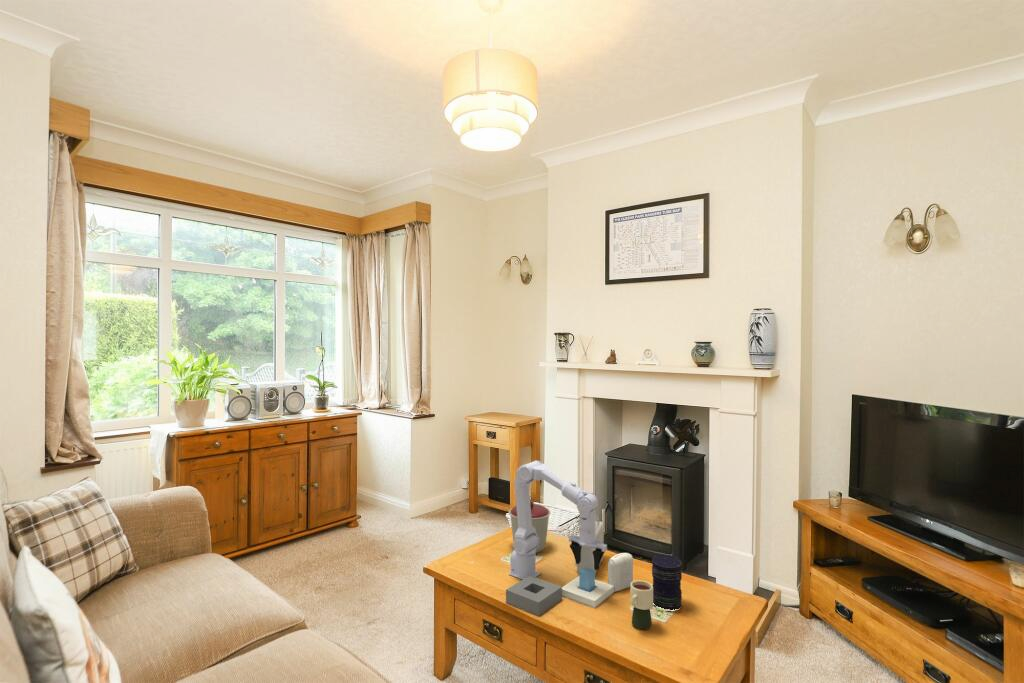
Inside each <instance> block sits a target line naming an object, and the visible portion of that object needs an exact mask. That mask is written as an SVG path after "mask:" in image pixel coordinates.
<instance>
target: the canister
mask: <svg viewBox="0 0 1024 683" xmlns="http://www.w3.org/2000/svg"><path fill="white" fill-rule="evenodd" d="M530 506H531V518H532V526H533V527H534V528H535V529H536V533H537V536H538V538H539V544H538V546H537V547H536V554H537V553H540V552H542V551H543V550H544V548H545V546H546V544H547V542H546V541H547V536H548V528H549V518H550V514H551V510H550V509H549V508H548V507H546V506H544V505H541V504H536V503H535V502H534V501H532V500H530ZM508 514H509V515H510V523H511V533H512V541H513V543H514V540H515V533H516V531H517V529H518V519H517V507H516V505H515V506H513V507H511V508H510V509H509V511H508Z"/></svg>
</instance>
